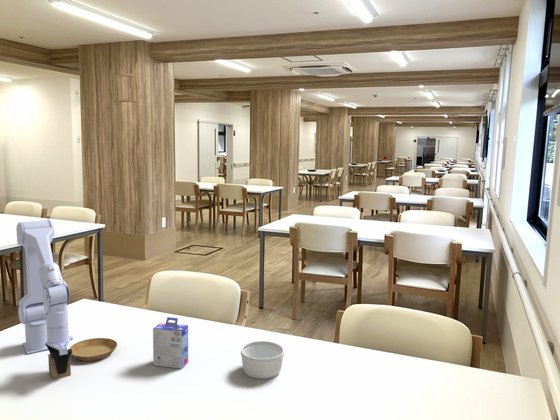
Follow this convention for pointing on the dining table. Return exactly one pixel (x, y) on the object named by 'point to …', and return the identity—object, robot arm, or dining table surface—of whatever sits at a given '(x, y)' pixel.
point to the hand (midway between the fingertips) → (59, 369)
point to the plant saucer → (93, 349)
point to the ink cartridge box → (170, 344)
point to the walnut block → (53, 369)
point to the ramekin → (262, 359)
